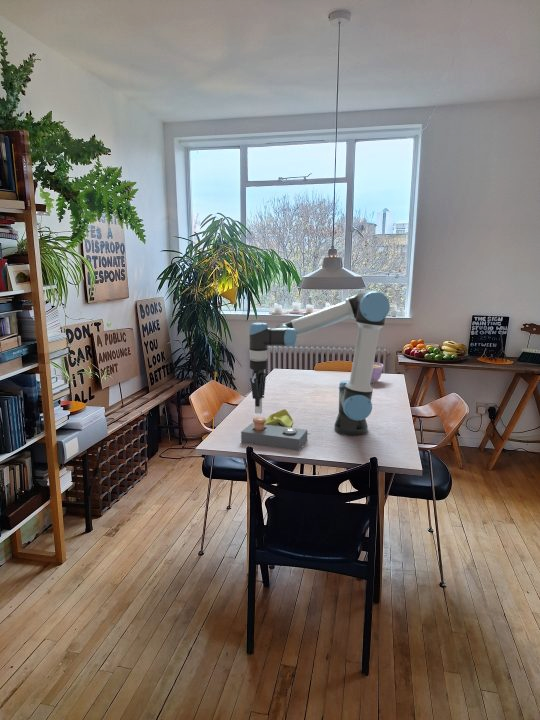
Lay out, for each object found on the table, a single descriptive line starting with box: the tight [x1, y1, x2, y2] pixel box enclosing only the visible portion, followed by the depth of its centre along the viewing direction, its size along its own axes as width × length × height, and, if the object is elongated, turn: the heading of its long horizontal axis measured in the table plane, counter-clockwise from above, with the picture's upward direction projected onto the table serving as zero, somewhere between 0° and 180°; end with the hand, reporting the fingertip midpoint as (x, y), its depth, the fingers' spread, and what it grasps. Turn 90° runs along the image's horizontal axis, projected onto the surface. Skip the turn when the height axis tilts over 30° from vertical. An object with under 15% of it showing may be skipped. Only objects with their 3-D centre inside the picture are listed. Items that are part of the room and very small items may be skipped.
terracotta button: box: [252, 416, 267, 431], centre depth 201 cm, size 6×6×6 cm
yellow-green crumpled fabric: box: [264, 408, 294, 428], centre depth 218 cm, size 20×7×10 cm
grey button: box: [283, 427, 296, 435], centre depth 197 cm, size 6×6×6 cm
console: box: [240, 422, 308, 452], centre depth 200 cm, size 26×12×5 cm, turn 69°
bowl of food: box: [370, 361, 385, 384], centre depth 301 cm, size 20×20×12 cm
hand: (258, 412), depth 200 cm, fingers closed
